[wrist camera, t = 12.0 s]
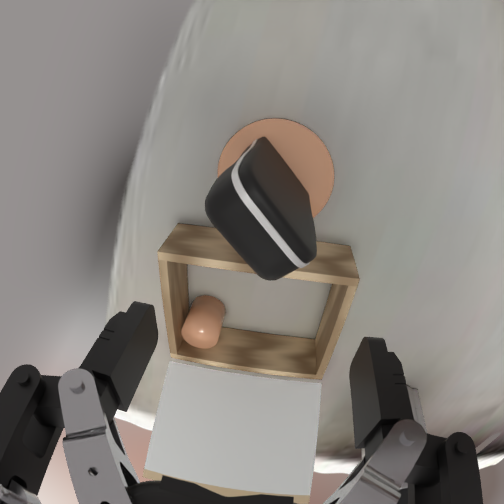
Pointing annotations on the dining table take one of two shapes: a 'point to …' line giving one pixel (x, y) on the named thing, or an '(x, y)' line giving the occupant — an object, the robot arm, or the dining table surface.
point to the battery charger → (264, 212)
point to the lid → (235, 432)
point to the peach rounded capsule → (204, 322)
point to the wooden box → (247, 342)
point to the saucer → (289, 155)
